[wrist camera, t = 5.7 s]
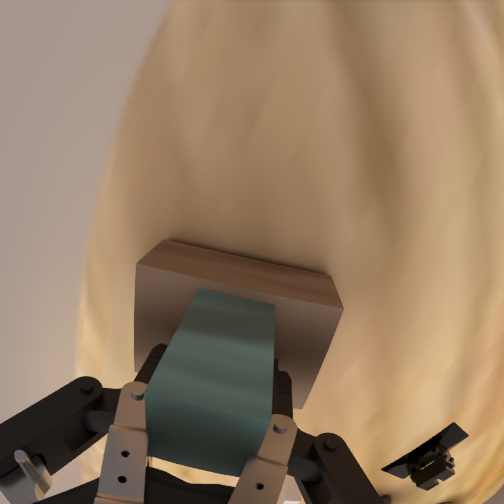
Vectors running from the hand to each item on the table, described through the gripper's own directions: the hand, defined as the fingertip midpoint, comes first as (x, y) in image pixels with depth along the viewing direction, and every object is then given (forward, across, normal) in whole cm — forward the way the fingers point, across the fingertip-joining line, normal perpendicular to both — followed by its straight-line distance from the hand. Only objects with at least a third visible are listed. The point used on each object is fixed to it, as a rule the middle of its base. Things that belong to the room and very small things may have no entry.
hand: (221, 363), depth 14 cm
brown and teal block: (+5, 0, 0) cm, 5 cm away
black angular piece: (+7, -24, +15) cm, 29 cm away
